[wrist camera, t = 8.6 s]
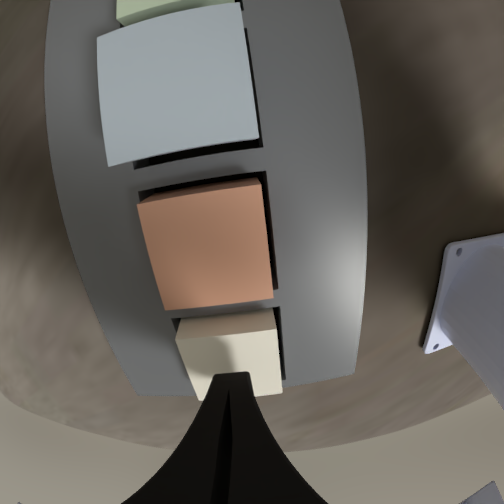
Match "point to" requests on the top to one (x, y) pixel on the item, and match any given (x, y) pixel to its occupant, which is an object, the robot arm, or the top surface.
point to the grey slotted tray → (215, 165)
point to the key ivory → (231, 349)
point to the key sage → (156, 8)
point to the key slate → (175, 84)
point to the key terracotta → (208, 244)
